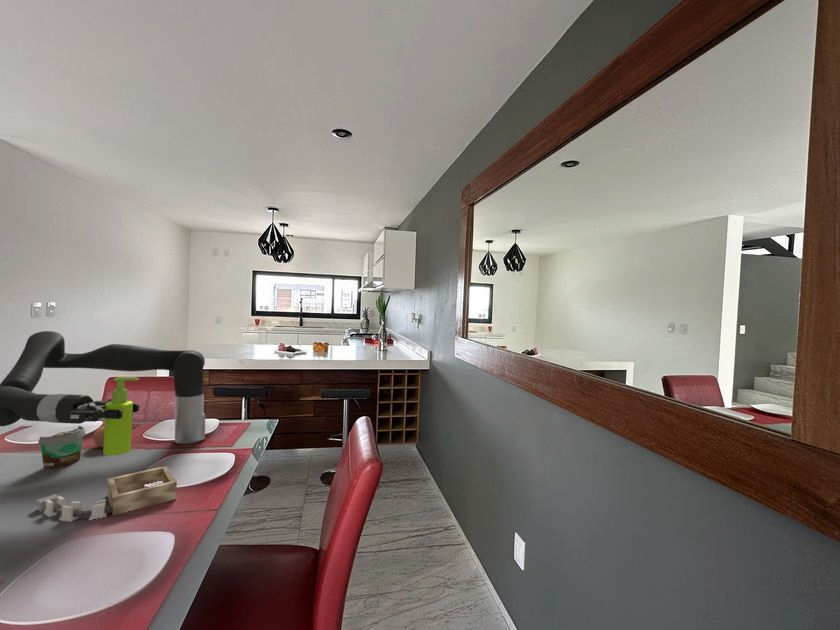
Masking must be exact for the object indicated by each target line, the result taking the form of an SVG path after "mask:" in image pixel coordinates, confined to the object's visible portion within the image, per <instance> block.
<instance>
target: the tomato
mask: <svg viewBox="0 0 840 630" xmlns="http://www.w3.org/2000/svg"><path fill="white" fill-rule="evenodd" d="M104 428H105V424H104V425H102V426H100V427H99V428H97V429H96V430H95V431H94V432H93V435H92V441H93V443H94V444H95V445H96V446H97V447H100V448H103V447H104Z"/></svg>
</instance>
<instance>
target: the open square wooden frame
mask: <svg viewBox="0 0 840 630" xmlns="http://www.w3.org/2000/svg"><path fill="white" fill-rule="evenodd" d="M157 481H163V484H159V485H155V486H151V487H147V488H144V485H145V484H149V483H153V482H157ZM141 488H143V489H141ZM138 489H139V490H138ZM177 489H178V483H177V480H176V479H175V477H174V476H173V474H172V472H171V471H170V469H169V468H168V466H167V465H163V466H160V467H153V468H151V469H146V470H145V469H144V470H141V471H136V472H132V473H127V474H124V475H119V476H113V477H108V478H107V499H108V502H109V506H112V512H111V514H112V516H113V515H115V516H117V515H116V514H119V515H121V513H122V514H125V512H126V513H129V512H128V511H130V512H133V511H136V510H135V509H137V510H140V508H141V509H144V508H148V507H150V506H154V505H155V506H156V505H159V504H163V503H166V502H170V501H173V500H177V494H178V491H177ZM147 506H148V507H147ZM143 507H144V508H143ZM132 510H133V511H132Z"/></svg>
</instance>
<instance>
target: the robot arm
mask: <svg viewBox="0 0 840 630" xmlns="http://www.w3.org/2000/svg"><path fill="white" fill-rule="evenodd" d="M65 346H66V344H65V338H64V336H63V335H62V334H61V333H60V332H56V331H52V330H51V331H50V330H44V331H43V330H42V331H39V332H35V333H33V334H31V335H30V336H29V337H28V338H27V340H26V344H25V346H24V347H23V348H24V349H23V350H22V352H21V354H20V356H19V358H18V360H17V362H16V363H15V365H14V366H13V367H12V369H11V370H10V371H9V372H8V373H7V375H6V376H5V377H4V378H3V379H2V381H1V382H0V427H7V426H10V425H13V424H15V423H16V422H18V421H20V420H24V421H28V422H29V421H31V422H45V423H51V424H52V423H53V424H72V425H73V424H76V425H80V424H83V423H85V422H91V423H92V422H93V423H94V422H95V423H96V422H98V421H99V420H101V421H103V420H104V421H105V419H120V418H122V416H123V411H122V410H110V409H108V410H106V404H107V403H109V402H112V398H109V399H107V400H106V401H104V400H95V401H94V400H93V398H92V397H91V396H89V395H87V394H69V393H67V394H66V393H65V394H64V393H57V394H48V393H47V394H46V393H45V394H44V393H42V394H41V393H40V394H39V393H35V392H33V391H34V389H35V388H36V386H37V385H38V383H39V381H40V379H41V378H42V374H43V371H44V369H89V370H90V369H93V370H107V371H116V372H118V371H120V372H145V371H157V370H158V371H159V370H160V371H162V370H163V371H171V372H173V386H174V397H175V398H174V443H176V444H179V445H189V444H195V443H197V442H201V441H203V440H205V439H206V414H205V412H204V408H205V407H204V406H205V405H204V403H205V401H204V400H205V396H204V395H205V394H204V393H205V390H204V389H205V387H204V367H205V365H206V364H205V363H206V359H205V357H204V355H203V354H202V353H200V352H199V351H197V350H189V349H188V350H169V349H168V350H167V349H159V348H153V347H146V346H139V345H133V344H132V345H131V344H119V343H111V344H106V345H104V346H102V347H99V348H96V349H94V350H91V351H88V352H83V353H68V352H65V350H66V347H65ZM139 411H140V405H139V403H133V412H132V413H137V412H139Z"/></svg>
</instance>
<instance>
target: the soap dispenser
mask: <svg viewBox="0 0 840 630" xmlns="http://www.w3.org/2000/svg"><path fill="white" fill-rule="evenodd" d="M139 379H140V378H139V377H134V376H120V377H119V376H118V377H115V378H114V379H113V382H116V388H114V389H112V392H111V399H112V402H109V403H107V404H106V410H108V409H110V410H122V411H123V416H122V418H120V419H104V425H105V428H104V447H102V448H103V450H102V451H103V452H102V454H103V455H105V456H119V455H123V454H126V453H129V452H130V451H131V449H132V448H131V446H132V432H133V431H132V430H133V428H132V425H133V413H134V412H133V404H134V402H133V401H131V400H128V399H129V398H128V397H129V389H127V388H126V387H125V382H126V381H134V382H137V381H139Z"/></svg>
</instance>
